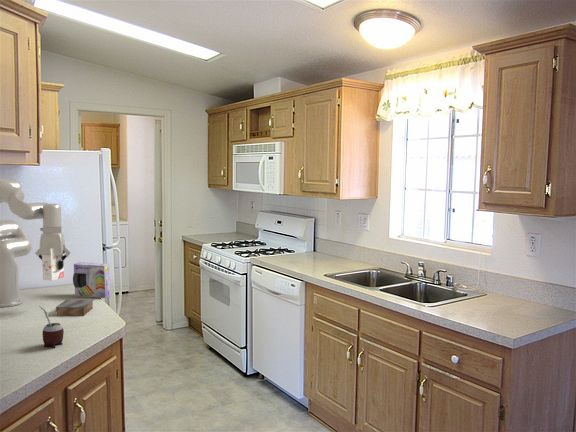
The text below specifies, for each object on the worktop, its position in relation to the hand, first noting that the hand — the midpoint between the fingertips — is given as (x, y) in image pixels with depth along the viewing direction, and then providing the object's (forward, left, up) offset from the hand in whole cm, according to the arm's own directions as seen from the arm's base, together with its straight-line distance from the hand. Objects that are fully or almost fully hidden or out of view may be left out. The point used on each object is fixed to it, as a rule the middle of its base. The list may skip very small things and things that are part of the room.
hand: (53, 268), depth 218 cm
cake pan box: (+9, +26, -20) cm, 34 cm away
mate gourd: (+17, -44, -20) cm, 52 cm away
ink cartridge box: (0, 0, -5) cm, 5 cm away
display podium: (+10, -1, -20) cm, 22 cm away
